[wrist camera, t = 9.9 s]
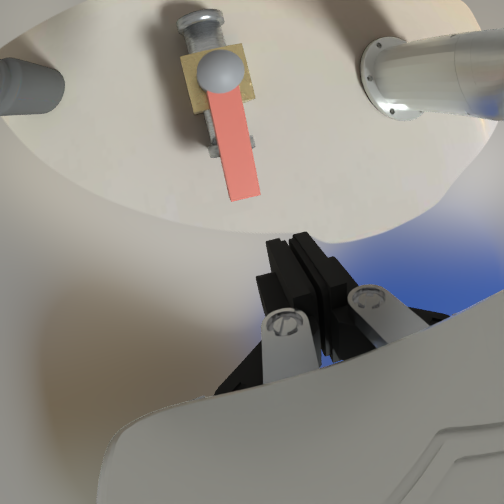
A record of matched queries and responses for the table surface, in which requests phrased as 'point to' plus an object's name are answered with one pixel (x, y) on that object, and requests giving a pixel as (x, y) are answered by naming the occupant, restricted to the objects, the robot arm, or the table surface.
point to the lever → (229, 121)
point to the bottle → (28, 88)
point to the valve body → (199, 44)
